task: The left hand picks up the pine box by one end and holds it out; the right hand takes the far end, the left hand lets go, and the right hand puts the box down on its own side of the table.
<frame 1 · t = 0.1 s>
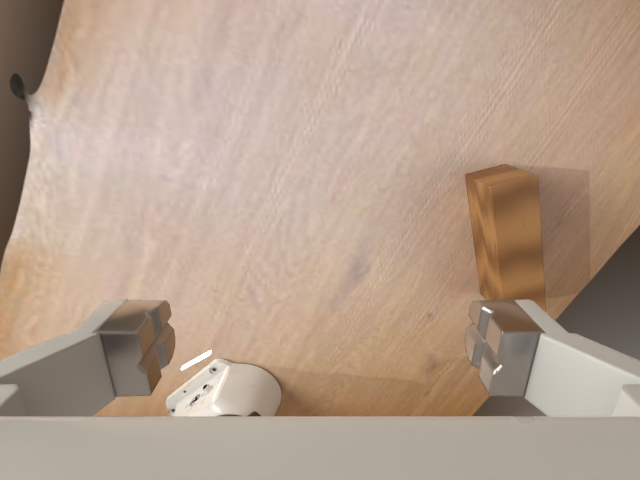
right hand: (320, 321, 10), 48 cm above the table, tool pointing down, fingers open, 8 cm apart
box: (491, 233, 60), on the table
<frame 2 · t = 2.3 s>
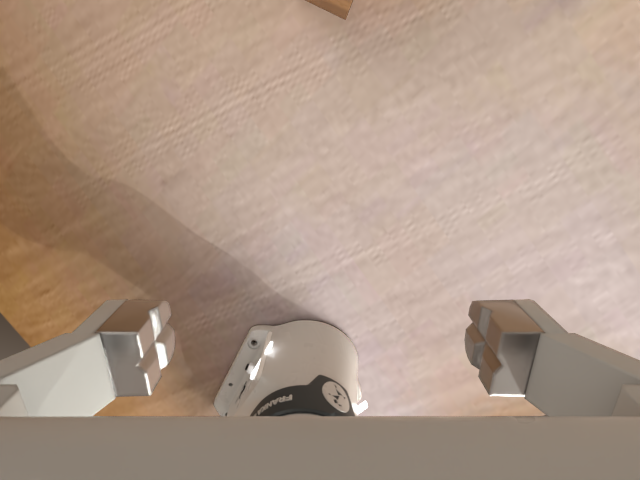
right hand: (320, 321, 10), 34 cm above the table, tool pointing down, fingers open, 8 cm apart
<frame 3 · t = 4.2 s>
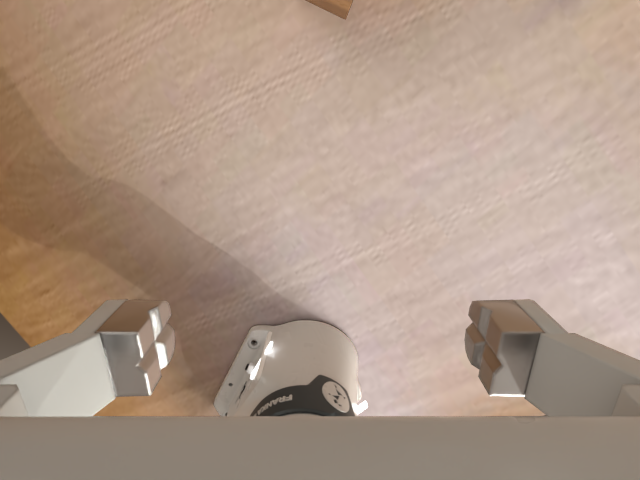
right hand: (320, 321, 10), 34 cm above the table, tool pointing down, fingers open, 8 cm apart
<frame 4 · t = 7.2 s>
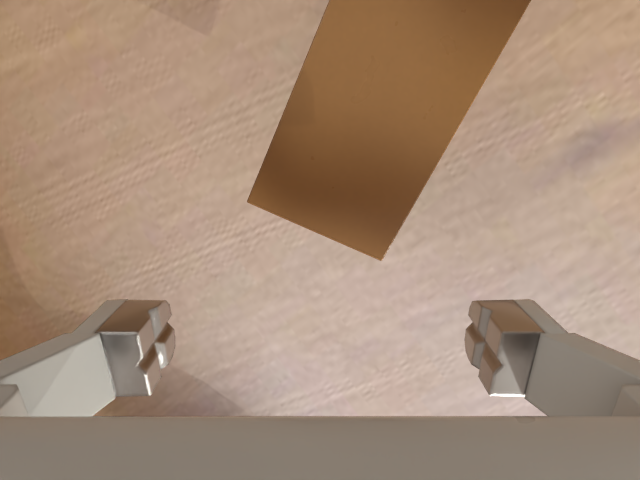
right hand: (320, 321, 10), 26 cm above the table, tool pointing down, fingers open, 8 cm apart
box: (399, 7, 20), point 11 cm above the table, touching left hand
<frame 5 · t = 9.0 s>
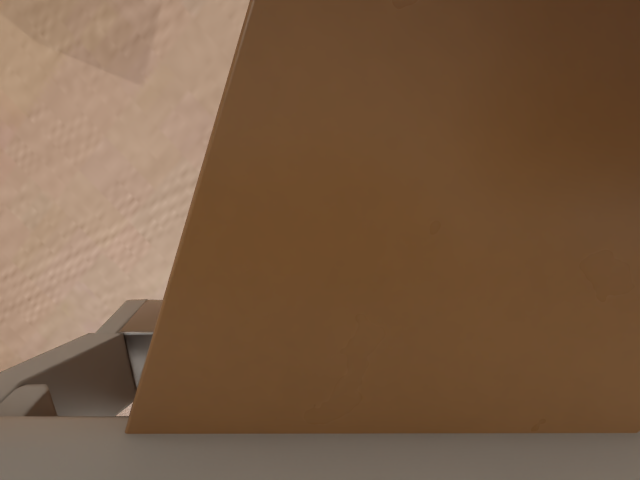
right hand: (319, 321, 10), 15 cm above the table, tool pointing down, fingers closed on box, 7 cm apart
box: (412, 56, 11), point 11 cm above the table, touching right hand, left hand
when the left hand's fingers open (15 cm above the table, at t = 10.3 s): box stays where it is, held by the right hand.
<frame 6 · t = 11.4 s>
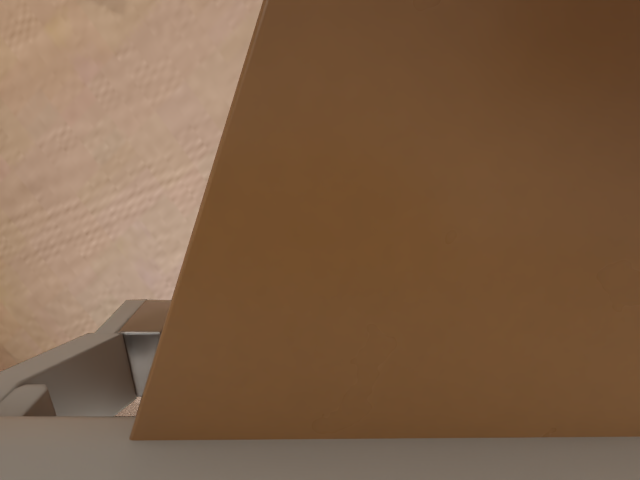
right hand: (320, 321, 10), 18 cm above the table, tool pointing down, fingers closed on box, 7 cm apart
box: (415, 52, 11), point 14 cm above the table, touching right hand
when the right hand's fingers open (5 cm above the table, at t = 14.8 s): box stays where it is, on the table.
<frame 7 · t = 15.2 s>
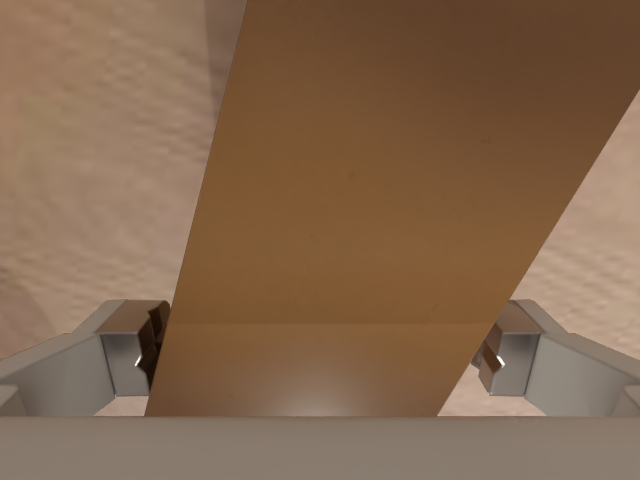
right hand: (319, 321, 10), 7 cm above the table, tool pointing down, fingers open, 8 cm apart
box: (377, 61, 14), on the table
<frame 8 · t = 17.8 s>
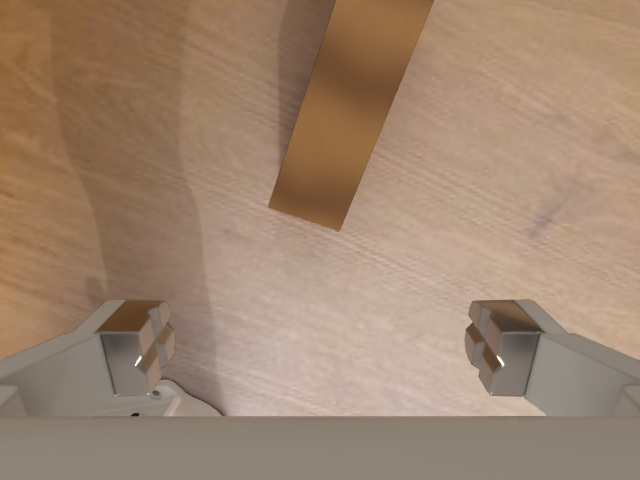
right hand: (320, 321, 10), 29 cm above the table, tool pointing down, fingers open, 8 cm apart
box: (346, 86, 34), on the table
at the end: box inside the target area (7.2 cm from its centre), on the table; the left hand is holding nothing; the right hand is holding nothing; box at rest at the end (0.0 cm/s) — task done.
